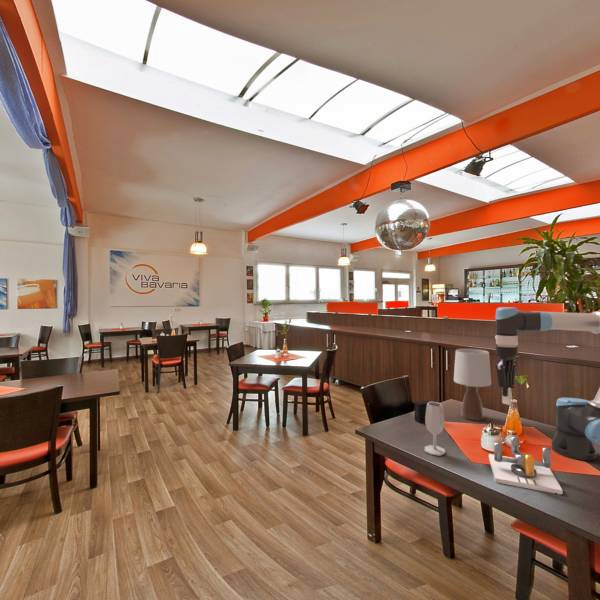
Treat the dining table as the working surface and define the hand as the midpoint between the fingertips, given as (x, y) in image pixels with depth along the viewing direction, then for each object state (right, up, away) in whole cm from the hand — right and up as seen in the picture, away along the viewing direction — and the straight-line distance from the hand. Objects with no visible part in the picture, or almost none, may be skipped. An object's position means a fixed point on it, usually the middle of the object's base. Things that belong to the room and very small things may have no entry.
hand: (506, 403), depth 134 cm
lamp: (+12, -24, +51) cm, 57 cm away
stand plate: (+1, -25, -8) cm, 26 cm away
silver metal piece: (+1, -23, -8) cm, 24 cm away
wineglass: (-24, -25, +11) cm, 37 cm away
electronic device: (-16, -24, +47) cm, 55 cm away
